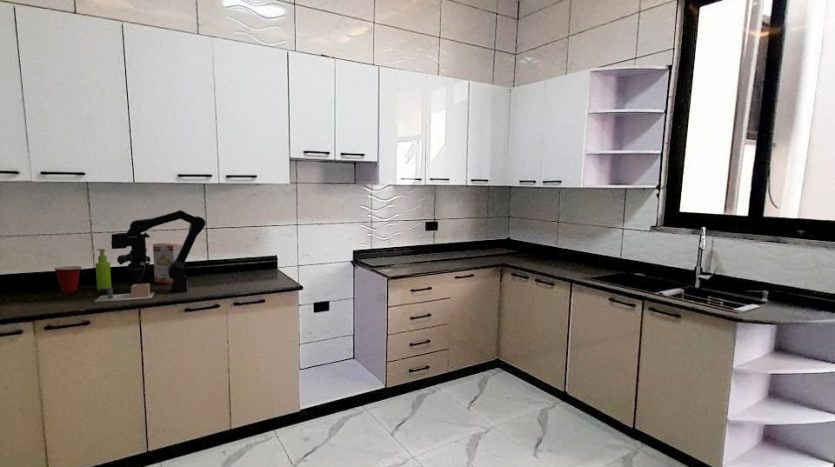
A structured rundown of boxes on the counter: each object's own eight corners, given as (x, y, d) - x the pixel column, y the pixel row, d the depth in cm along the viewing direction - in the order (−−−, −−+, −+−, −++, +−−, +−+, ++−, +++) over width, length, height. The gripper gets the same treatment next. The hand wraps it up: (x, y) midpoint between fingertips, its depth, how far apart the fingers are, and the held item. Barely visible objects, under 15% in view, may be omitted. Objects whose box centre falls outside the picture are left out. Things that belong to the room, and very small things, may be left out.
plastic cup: (89, 288, 220) (87, 265, 219) (68, 294, 209) (66, 269, 208) (71, 287, 222) (69, 263, 221) (49, 292, 211) (47, 268, 210)
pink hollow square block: (150, 293, 210) (149, 283, 209) (148, 296, 205) (147, 286, 204) (134, 294, 207) (133, 284, 207) (131, 297, 202) (130, 287, 201)
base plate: (155, 294, 213) (155, 292, 213) (151, 299, 203) (151, 297, 203) (100, 297, 204) (100, 295, 204) (94, 304, 194) (93, 301, 194)
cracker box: (153, 282, 236) (152, 243, 233) (163, 280, 242) (161, 242, 239) (174, 285, 232) (172, 245, 229) (183, 282, 237) (182, 244, 235)
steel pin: (113, 297, 203) (113, 287, 202) (112, 298, 201) (112, 288, 200) (108, 297, 202) (107, 287, 201) (107, 298, 200) (106, 288, 199)
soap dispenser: (108, 286, 226) (106, 247, 223) (113, 288, 221) (110, 249, 219) (94, 288, 221) (92, 249, 219) (99, 290, 217) (96, 250, 214)
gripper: (122, 245, 209) (124, 277, 211) (113, 251, 192) (115, 286, 194) (149, 244, 213) (151, 276, 215) (142, 250, 196) (144, 284, 198)
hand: (140, 280), depth 205 cm, fingers open, 9 cm apart
